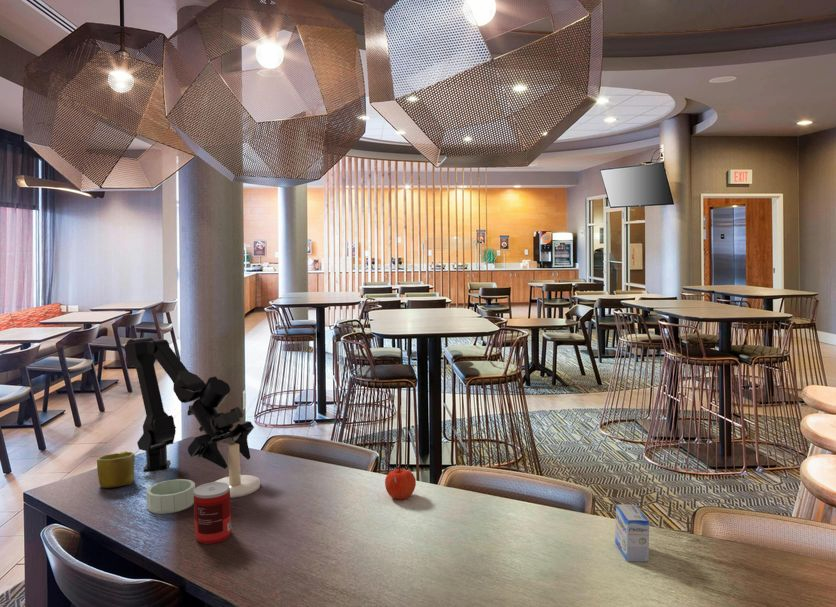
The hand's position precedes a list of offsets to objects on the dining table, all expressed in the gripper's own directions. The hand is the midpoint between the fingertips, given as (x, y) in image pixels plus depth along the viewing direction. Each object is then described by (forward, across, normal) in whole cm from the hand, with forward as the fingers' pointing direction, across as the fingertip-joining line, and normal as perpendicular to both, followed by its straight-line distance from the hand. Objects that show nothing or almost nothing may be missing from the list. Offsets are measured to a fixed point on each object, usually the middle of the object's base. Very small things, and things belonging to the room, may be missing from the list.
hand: (238, 463), depth 157 cm
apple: (+34, +17, -24) cm, 45 cm away
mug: (-19, -13, +29) cm, 37 cm away
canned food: (+17, -22, -6) cm, 28 cm away
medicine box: (+75, +16, -64) cm, 100 cm away
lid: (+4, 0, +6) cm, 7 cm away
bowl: (0, -16, +10) cm, 19 cm away
